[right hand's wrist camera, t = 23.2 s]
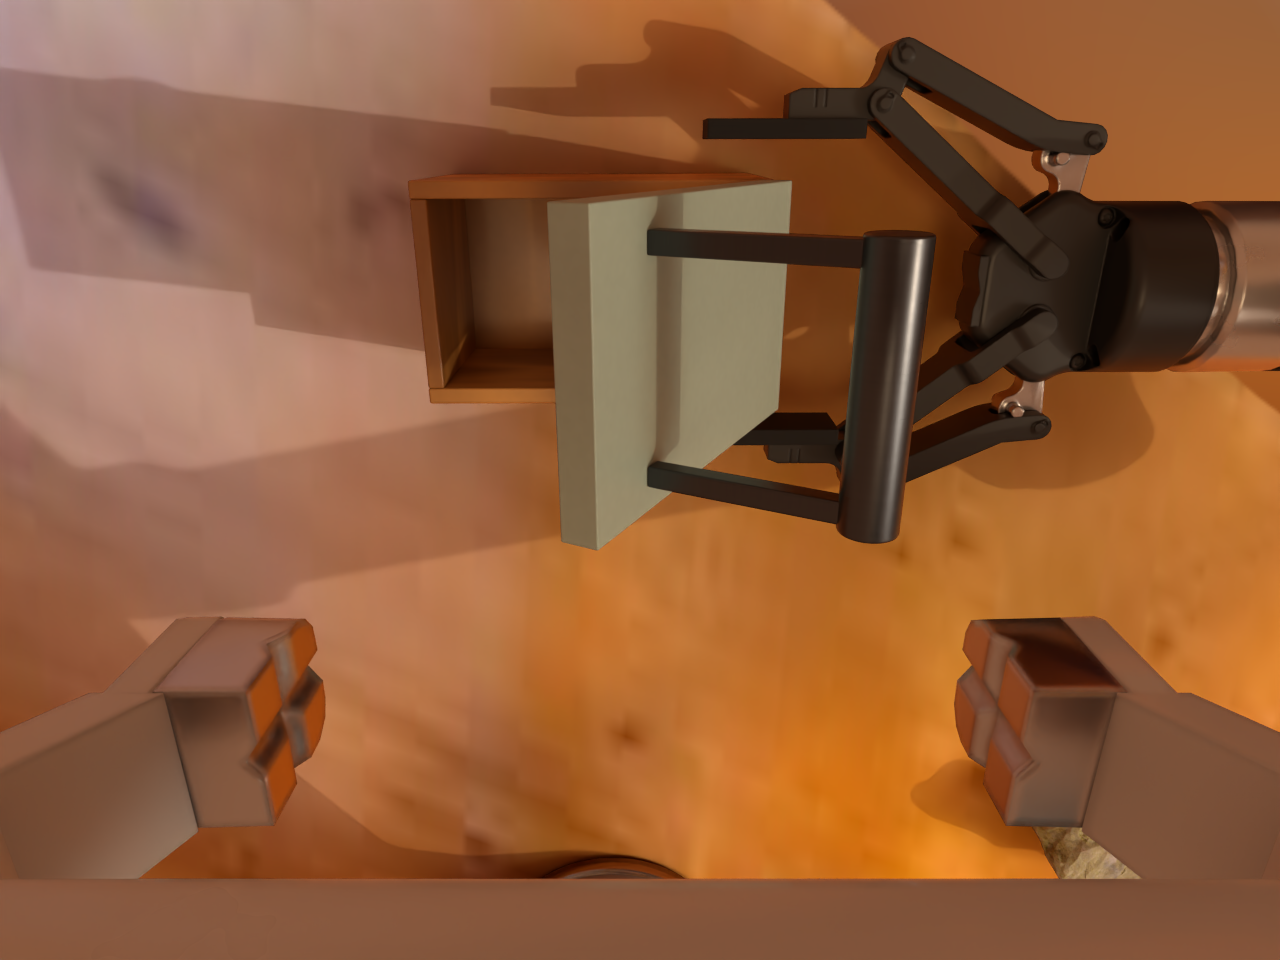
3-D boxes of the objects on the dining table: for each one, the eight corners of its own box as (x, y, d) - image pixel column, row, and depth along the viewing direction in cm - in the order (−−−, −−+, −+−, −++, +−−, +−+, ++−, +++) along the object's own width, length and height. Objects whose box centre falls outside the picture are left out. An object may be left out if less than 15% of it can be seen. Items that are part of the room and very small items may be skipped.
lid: (560, 542, 24) (865, 616, 20) (545, 201, 21) (911, 212, 17) (751, 405, 37) (961, 435, 33) (762, 179, 33) (998, 183, 29)
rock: (1147, 855, 60) (1183, 762, 55) (1197, 944, 54) (1242, 848, 49) (995, 862, 60) (1017, 769, 55) (1030, 949, 55) (1057, 856, 50)
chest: (466, 358, 45) (429, 403, 37) (451, 174, 42) (407, 180, 34) (741, 357, 45) (762, 403, 37) (748, 173, 42) (774, 179, 34)
